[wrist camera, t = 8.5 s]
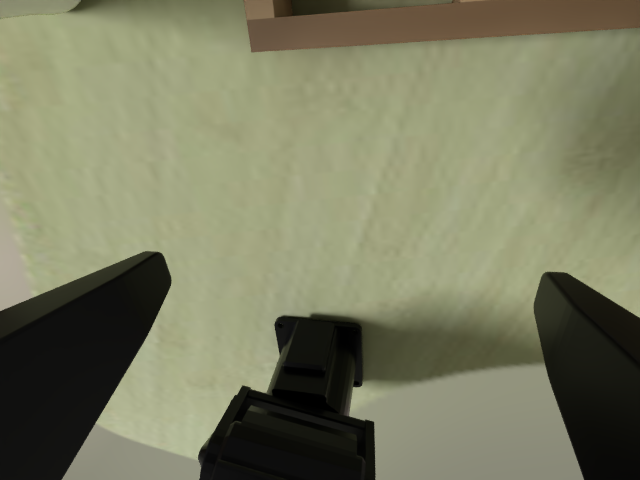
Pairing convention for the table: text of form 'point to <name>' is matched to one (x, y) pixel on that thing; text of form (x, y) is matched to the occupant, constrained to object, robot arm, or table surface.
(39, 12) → the drinking glass
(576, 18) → the socket block
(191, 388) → the table surface
